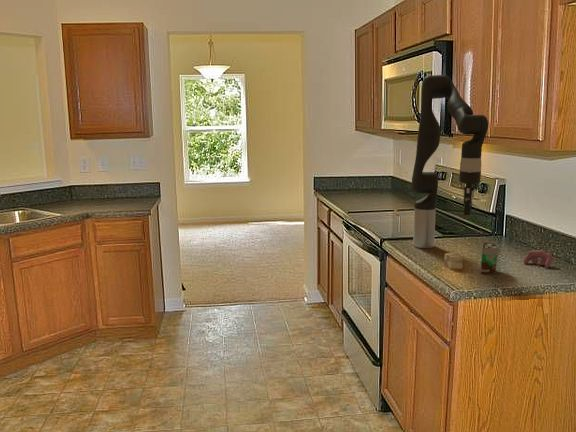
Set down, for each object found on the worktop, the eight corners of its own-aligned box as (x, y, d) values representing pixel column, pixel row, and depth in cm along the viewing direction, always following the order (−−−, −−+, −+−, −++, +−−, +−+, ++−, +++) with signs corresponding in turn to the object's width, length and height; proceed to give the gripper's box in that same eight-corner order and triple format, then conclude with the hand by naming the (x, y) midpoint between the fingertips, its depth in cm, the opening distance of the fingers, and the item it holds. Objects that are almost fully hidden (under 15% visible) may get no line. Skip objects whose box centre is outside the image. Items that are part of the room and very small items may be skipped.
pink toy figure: (551, 270, 216) (555, 253, 217) (547, 267, 213) (552, 250, 214) (526, 265, 223) (530, 249, 224) (521, 262, 220) (526, 246, 221)
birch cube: (444, 265, 219) (444, 253, 218) (455, 265, 220) (456, 252, 219) (450, 269, 214) (450, 256, 213) (462, 268, 215) (462, 256, 214)
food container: (498, 276, 204) (500, 249, 203) (480, 274, 207) (482, 248, 205) (499, 267, 216) (500, 242, 214) (482, 266, 218) (483, 241, 216)
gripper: (461, 167, 214) (458, 208, 217) (458, 171, 201) (455, 215, 204) (481, 167, 211) (479, 209, 214) (480, 172, 198) (477, 217, 201)
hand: (467, 212), depth 209 cm, fingers open, 8 cm apart
